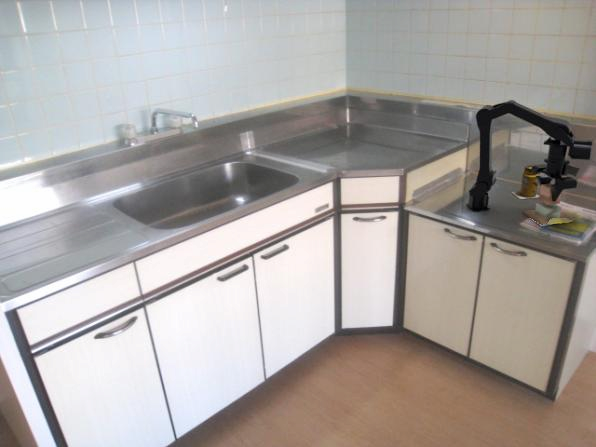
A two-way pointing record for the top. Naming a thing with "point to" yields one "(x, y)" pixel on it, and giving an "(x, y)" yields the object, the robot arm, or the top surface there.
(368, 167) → the top surface
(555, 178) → the robot arm
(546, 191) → the top block
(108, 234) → the top surface
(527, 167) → the condiment
